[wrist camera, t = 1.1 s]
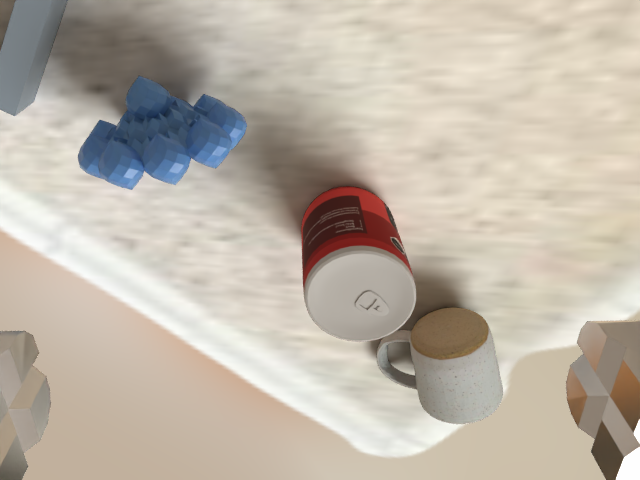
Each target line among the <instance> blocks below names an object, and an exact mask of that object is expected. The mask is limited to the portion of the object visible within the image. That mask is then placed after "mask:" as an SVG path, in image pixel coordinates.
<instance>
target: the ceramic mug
mask: <svg viewBox="0 0 640 480" xmlns="http://www.w3.org/2000/svg"><path fill="white" fill-rule="evenodd" d="M392 342H409V343H410V350H411V356H412V361H413V365H414V370H415V376H414V375H410V374H406V373H404V372H401V371H399V370H398V369H396V368H394V367H393V366H392V365H391V364H390V363H389V361H388V358H387V349H388V345H387V344H390V343H392ZM376 358H377V363H378V366H379V369H380V370H381V372H382V373H383V374H384V375H385V376H386V377H388V378H389V379H390V380H392V381H394V382H395V383H397V384H400V385H402V386H405V387H408V388H413V389H417V390H418V394H419V399H420V402H421V405H422V407H423V408H424V410H425V411H426V412H427V413H428V414H430V415H431V416H432V417H434V418H436V419H438V420H441V421H443V422H447V423H452V424H466V423H473V422H477V421H480V420H482V419H484V418H486V417H488V416H489V415H491V414H492V413H493V412H494V411H495V410H496V409H497V408H498V407H499V405H500V403H501V400H502V396H503V387H502V382H501V378H500V372H499V366H498V362H497V357H496V353H495V346H494V341H493V337H492V334H491V331H490V329H489V326H488V324H487V323H486V321H485V320H484V319H483V317H482V316H480V315H479V314H477V313H476V312H474V311H471V310H468V309H463V308H455V307H452V308H443V309H439V310H436V311H433V312H430V313H429V314H427V315H425V316H423V317H422V318H421V319H420V320H419V321H418V322H417V323H416V324H415V325H414V327H413V329H412V331H408V330H399V331H395V332H393V333H391V334H390V335H388V336H385V337H383V338H382V340H381V342H380V344H379V347H378V349H377V353H376Z"/></svg>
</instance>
